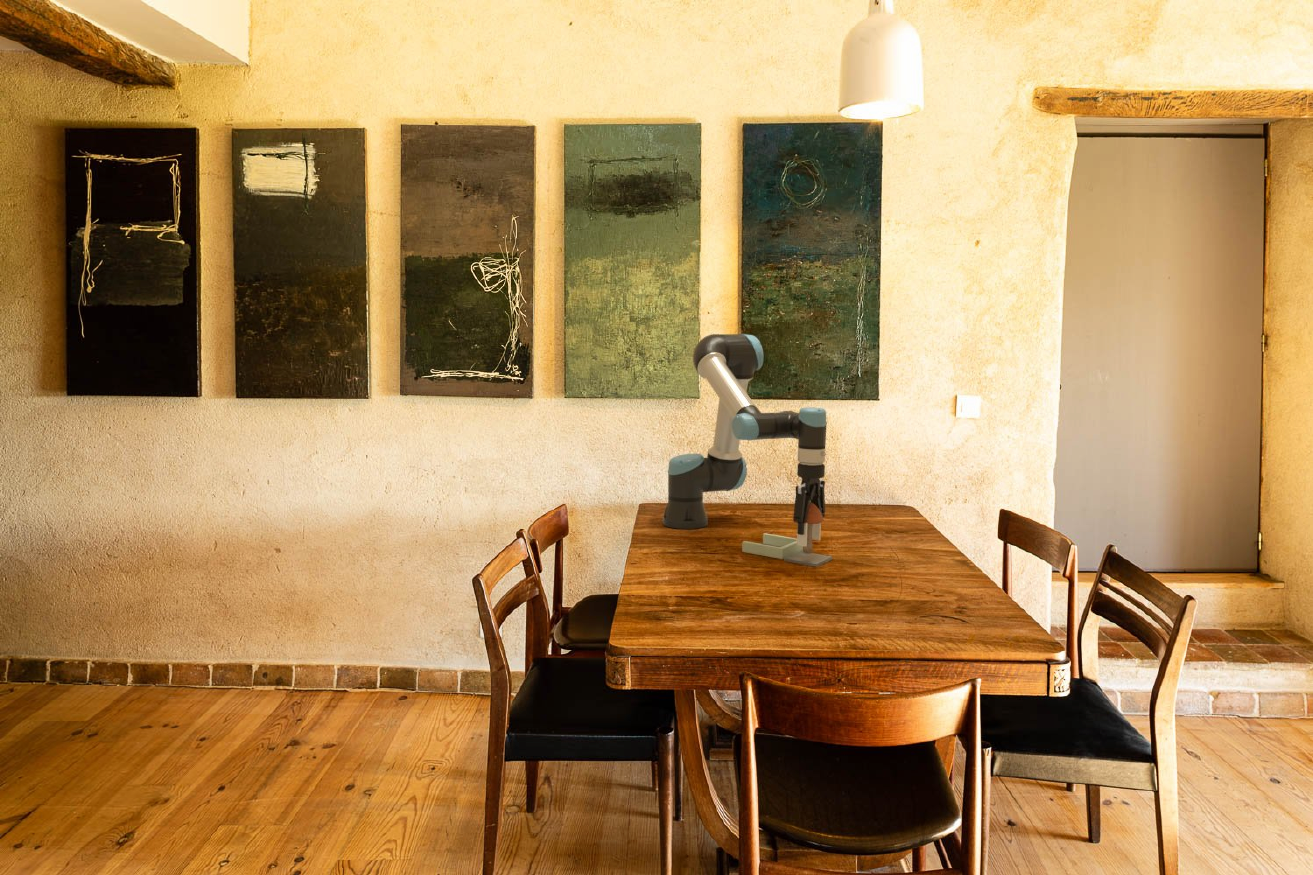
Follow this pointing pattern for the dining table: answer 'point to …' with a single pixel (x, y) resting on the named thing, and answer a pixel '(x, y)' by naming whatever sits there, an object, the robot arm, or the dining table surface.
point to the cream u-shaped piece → (786, 546)
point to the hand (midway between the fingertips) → (808, 542)
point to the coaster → (808, 559)
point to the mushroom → (812, 518)
